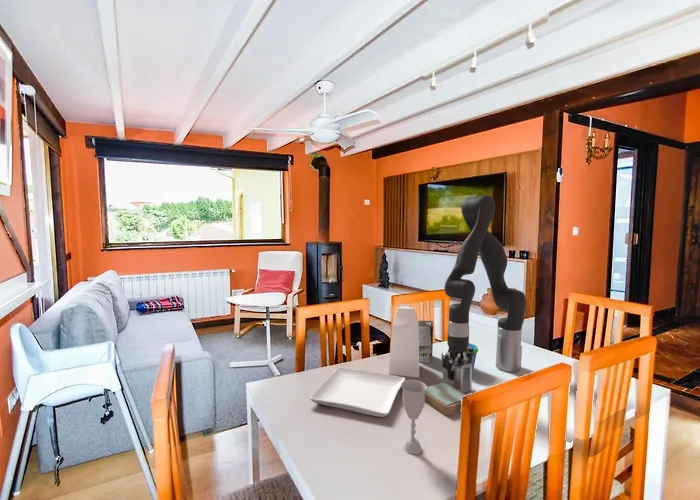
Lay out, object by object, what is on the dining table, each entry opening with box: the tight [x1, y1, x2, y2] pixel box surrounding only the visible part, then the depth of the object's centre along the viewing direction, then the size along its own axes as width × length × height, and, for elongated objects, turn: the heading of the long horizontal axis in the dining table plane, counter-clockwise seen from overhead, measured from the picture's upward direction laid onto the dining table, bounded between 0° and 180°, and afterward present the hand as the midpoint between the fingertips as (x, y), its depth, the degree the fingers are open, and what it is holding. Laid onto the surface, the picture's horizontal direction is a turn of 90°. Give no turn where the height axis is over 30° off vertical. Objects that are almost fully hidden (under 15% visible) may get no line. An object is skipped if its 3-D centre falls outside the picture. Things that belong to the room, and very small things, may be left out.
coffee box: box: [418, 320, 434, 364], centre depth 166 cm, size 9×6×16 cm
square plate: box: [309, 366, 406, 418], centre depth 134 cm, size 27×27×4 cm
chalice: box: [401, 379, 428, 455], centre depth 103 cm, size 7×7×18 cm
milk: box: [388, 306, 420, 378], centre depth 154 cm, size 12×12×26 cm
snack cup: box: [468, 342, 479, 373], centre depth 155 cm, size 16×11×10 cm
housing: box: [442, 359, 473, 393], centre depth 139 cm, size 6×9×10 cm, turn 29°
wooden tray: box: [425, 381, 468, 418], centre depth 129 cm, size 12×14×3 cm
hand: (456, 377), depth 139 cm, fingers closed on housing, 5 cm apart
